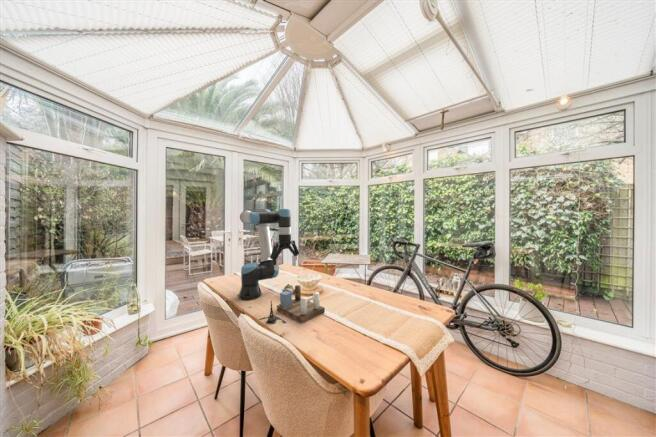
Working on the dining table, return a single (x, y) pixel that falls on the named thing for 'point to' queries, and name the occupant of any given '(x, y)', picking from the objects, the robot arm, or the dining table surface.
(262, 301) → the dining table surface
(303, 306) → the hinged leg
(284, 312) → the stool seat
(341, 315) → the dining table surface
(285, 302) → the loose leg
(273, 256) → the robot arm
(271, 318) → the eiffel tower figurine
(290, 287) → the ceramic sculpture
